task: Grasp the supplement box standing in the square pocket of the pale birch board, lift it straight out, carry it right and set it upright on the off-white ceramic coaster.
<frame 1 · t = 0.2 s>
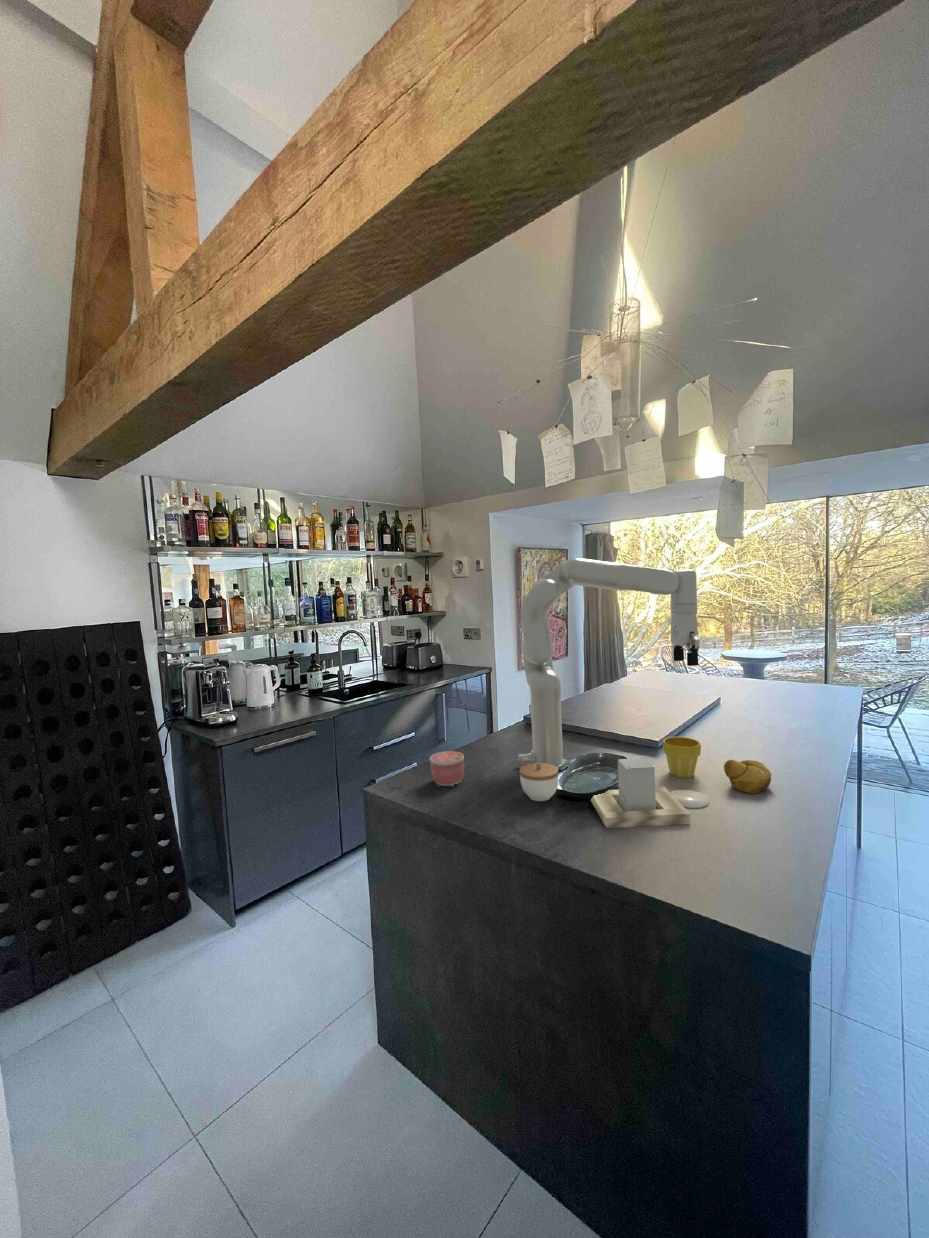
hand: (685, 663, 163), 31 cm above the countertop, fingers open, 9 cm apart
plant pot: (682, 774, 153), on the countertop
bread roll: (751, 787, 141), on the countertop
container: (448, 782, 157), on the countertop
supplement box: (637, 812, 131), resting in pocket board
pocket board: (637, 811, 131), on the countertop
lidded jar: (540, 797, 143), on the countertop
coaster: (688, 799, 136), on the countertop
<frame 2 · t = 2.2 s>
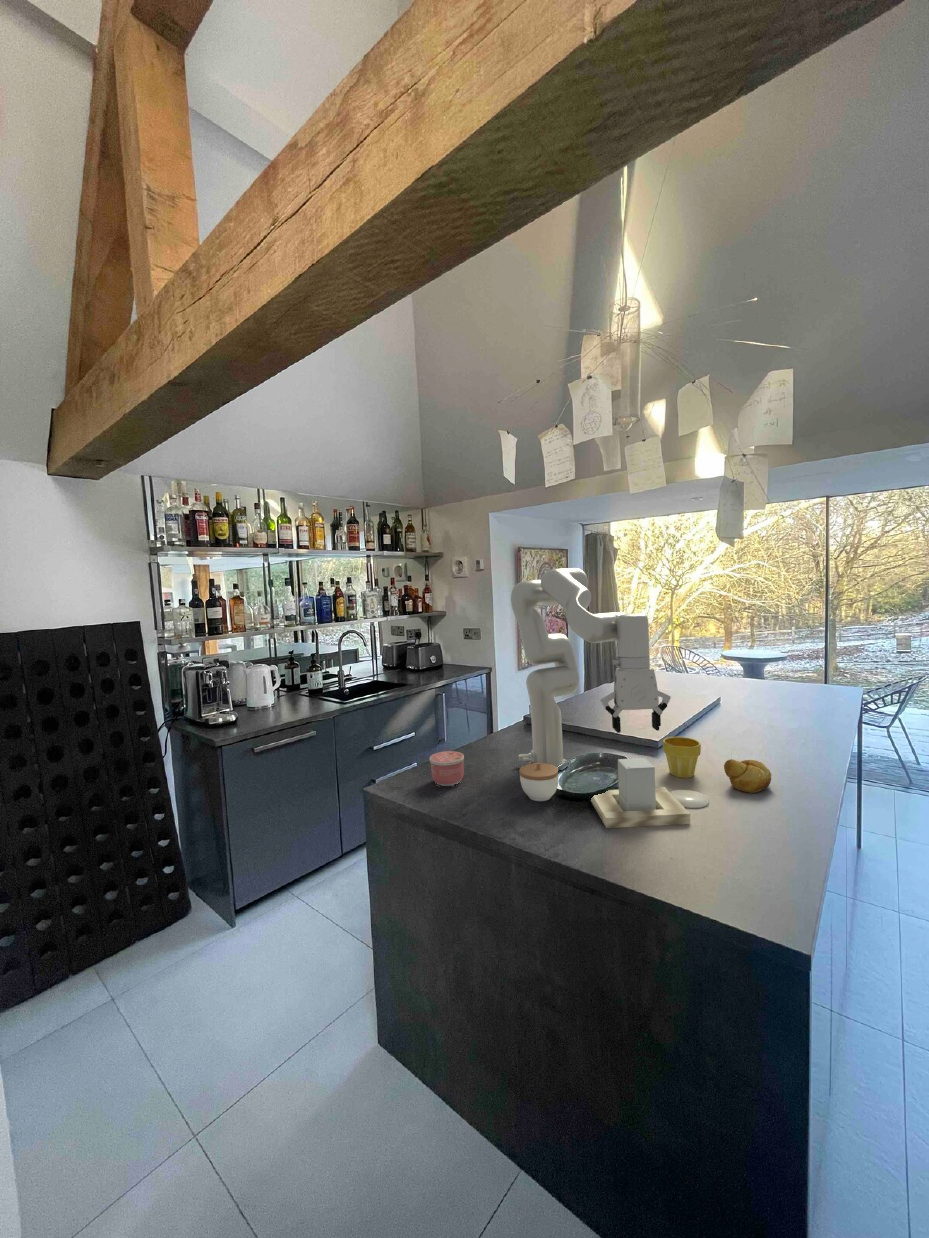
hand: (636, 730, 130), 21 cm above the countertop, fingers open, 9 cm apart
nothing on the countertop moved.
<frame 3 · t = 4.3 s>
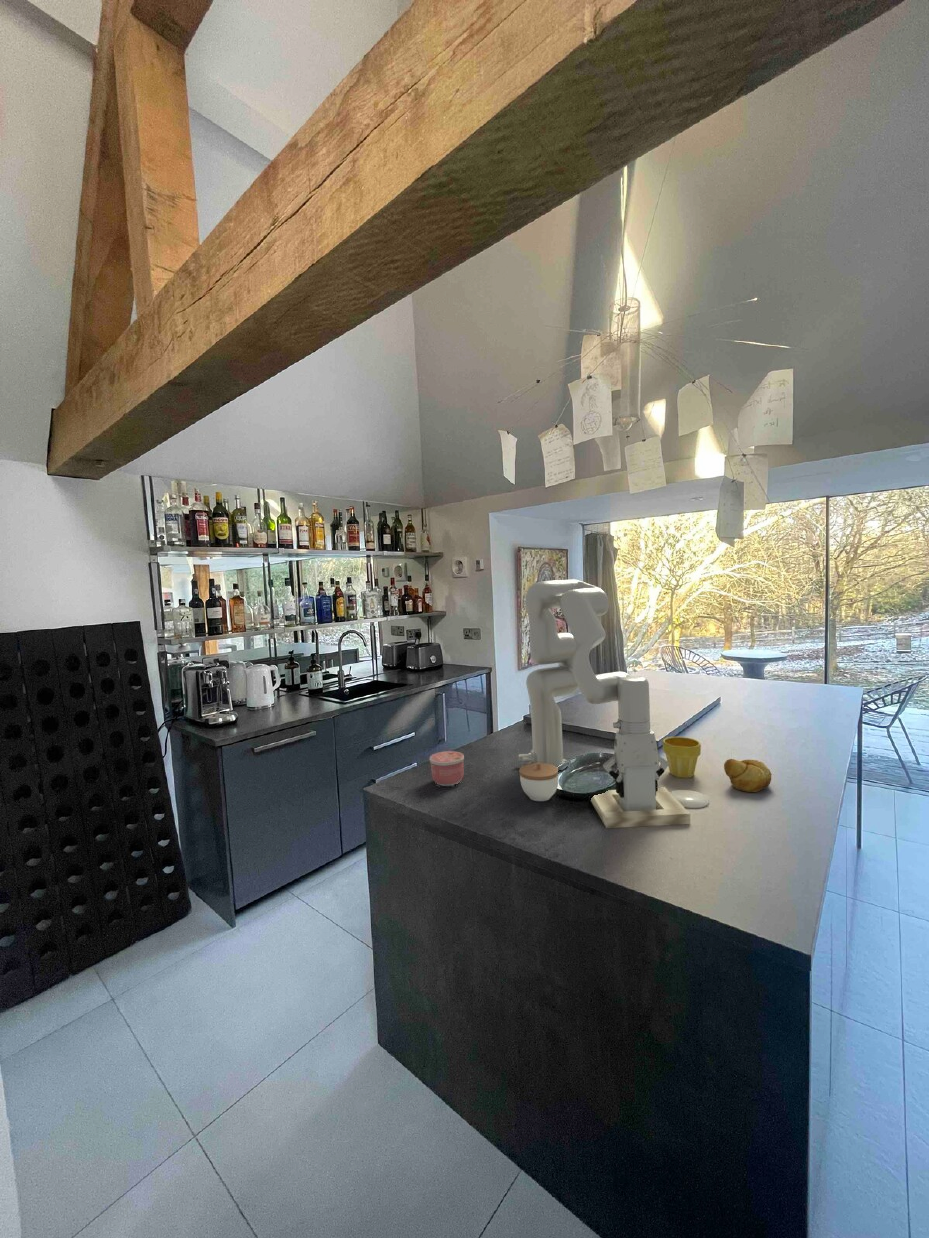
hand: (636, 794, 130), 4 cm above the countertop, fingers closed on supplement box, 7 cm apart
supplement box: (637, 811, 131), resting in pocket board, touching gripper
everything else where it was.
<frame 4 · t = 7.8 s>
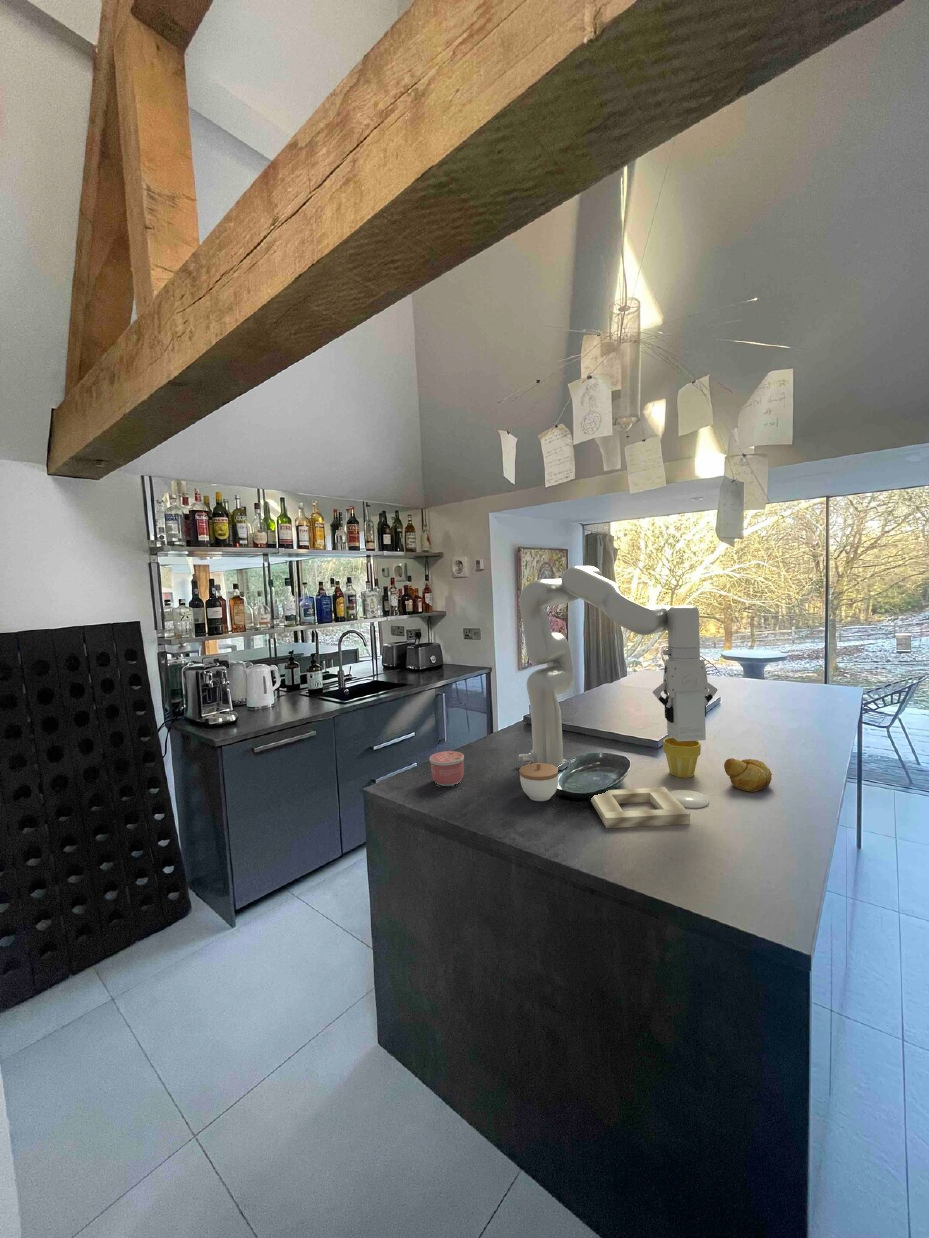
hand: (685, 720, 134), 21 cm above the countertop, fingers closed on supplement box, 7 cm apart
supplement box: (686, 737, 134), point 17 cm above the countertop, touching gripper
everything else where it was.
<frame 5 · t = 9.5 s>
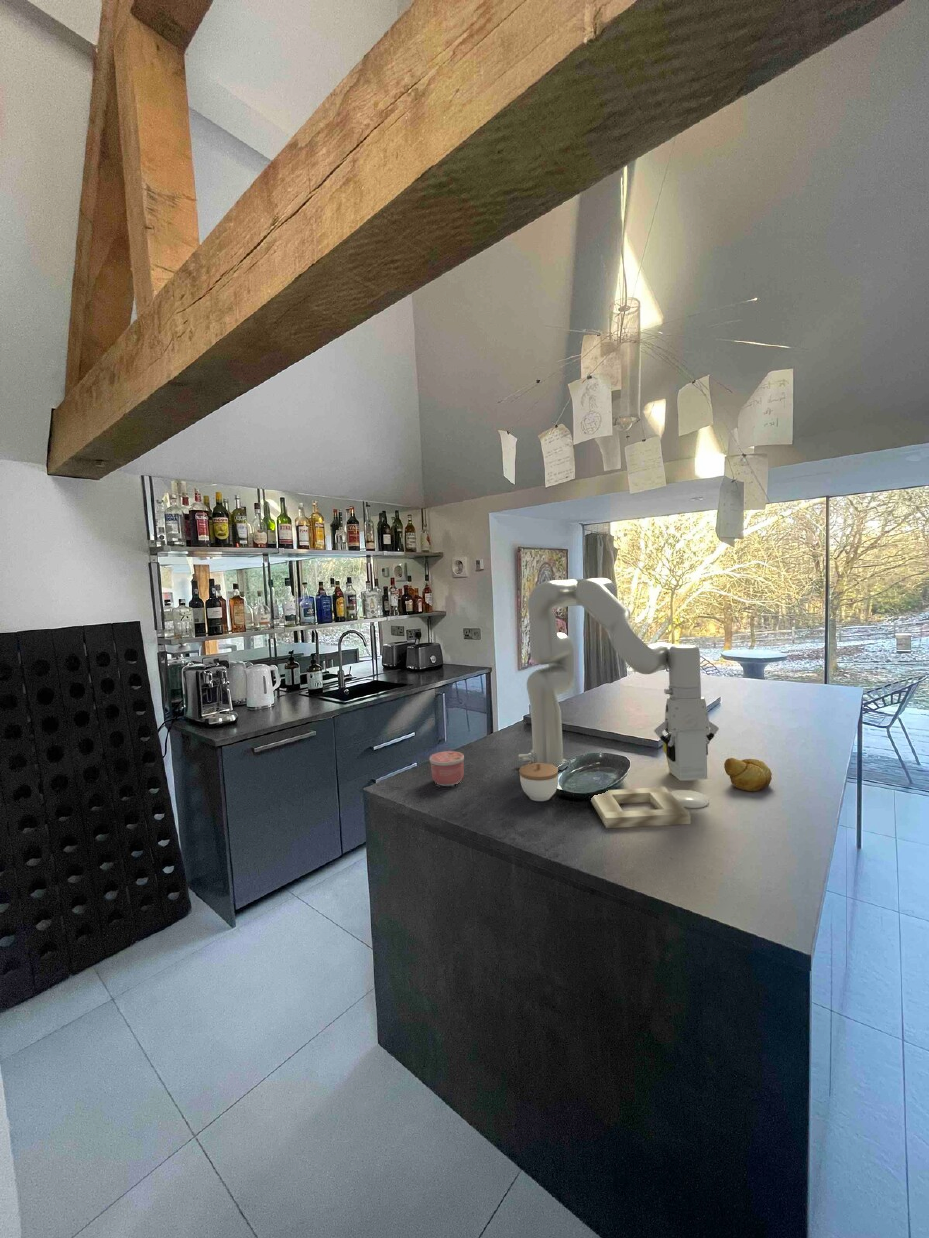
hand: (687, 758, 135), 11 cm above the countertop, fingers closed on supplement box, 7 cm apart
supplement box: (687, 775, 135), point 7 cm above the countertop, touching gripper
when the fingers open (6 cm above the countertop, at t = 11.2 s): supplement box stays where it is, resting on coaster.
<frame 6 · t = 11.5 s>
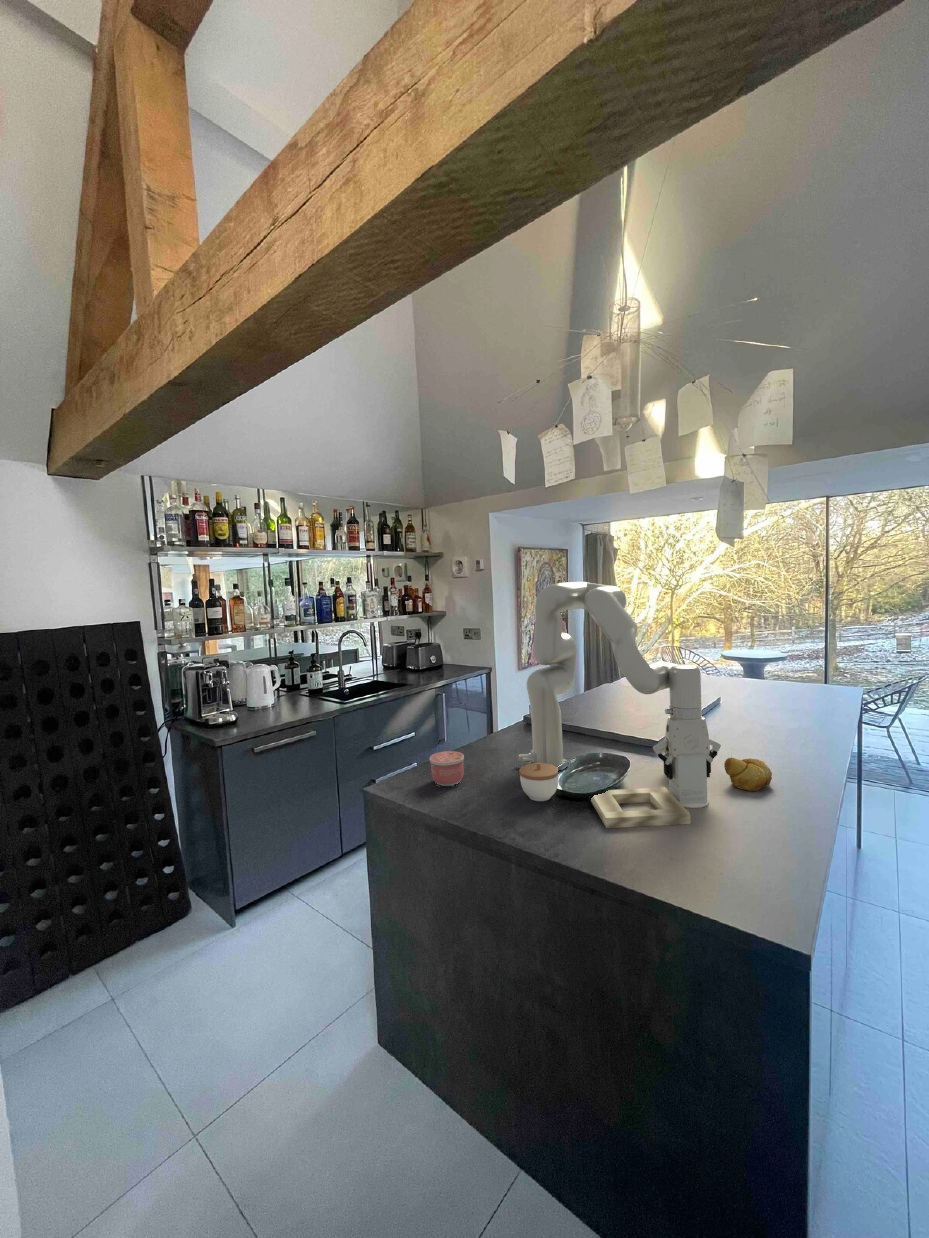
hand: (687, 776, 135), 6 cm above the countertop, fingers open, 9 cm apart
supplement box: (687, 798, 136), resting on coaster
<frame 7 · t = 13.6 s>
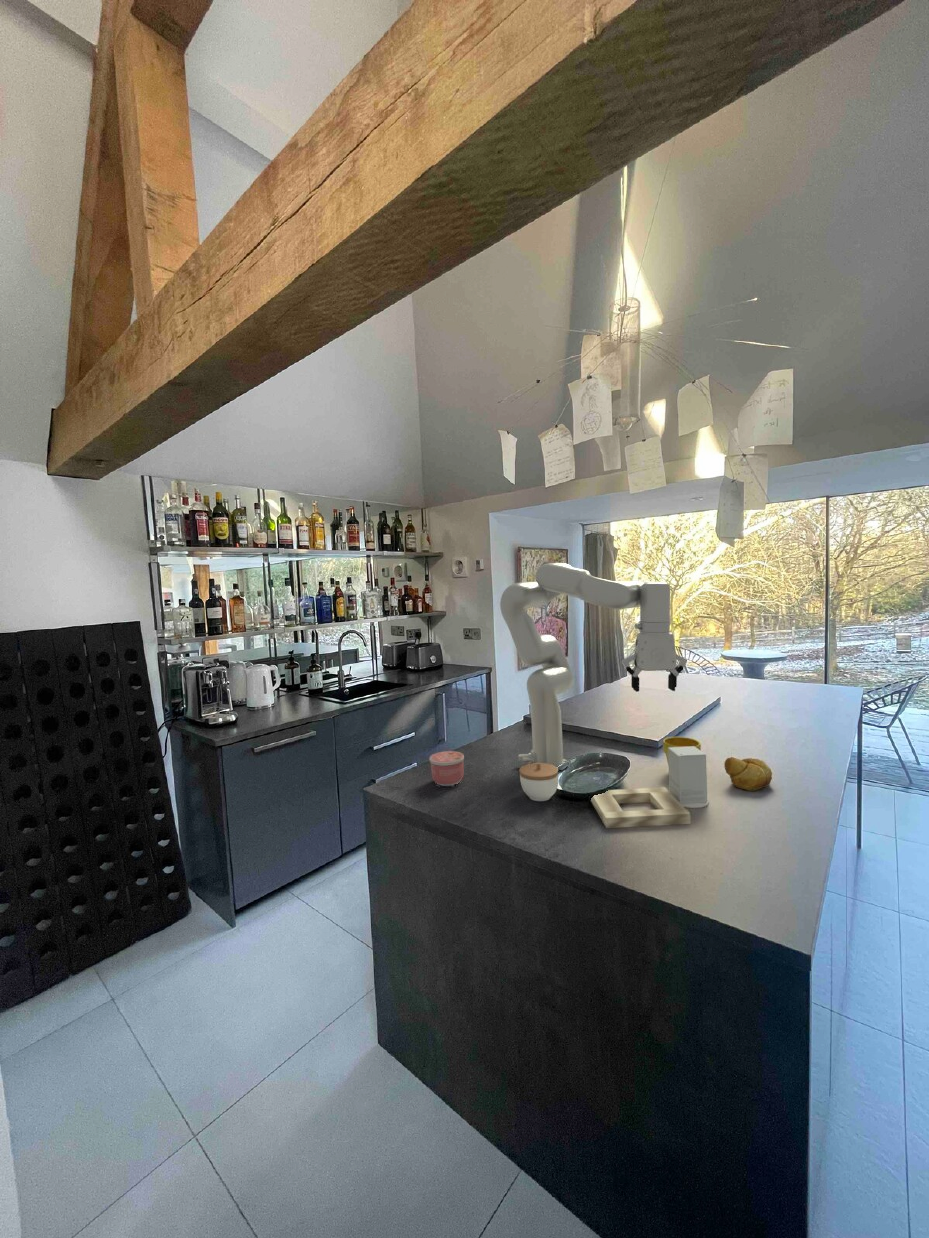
hand: (653, 690, 140), 28 cm above the countertop, fingers open, 9 cm apart
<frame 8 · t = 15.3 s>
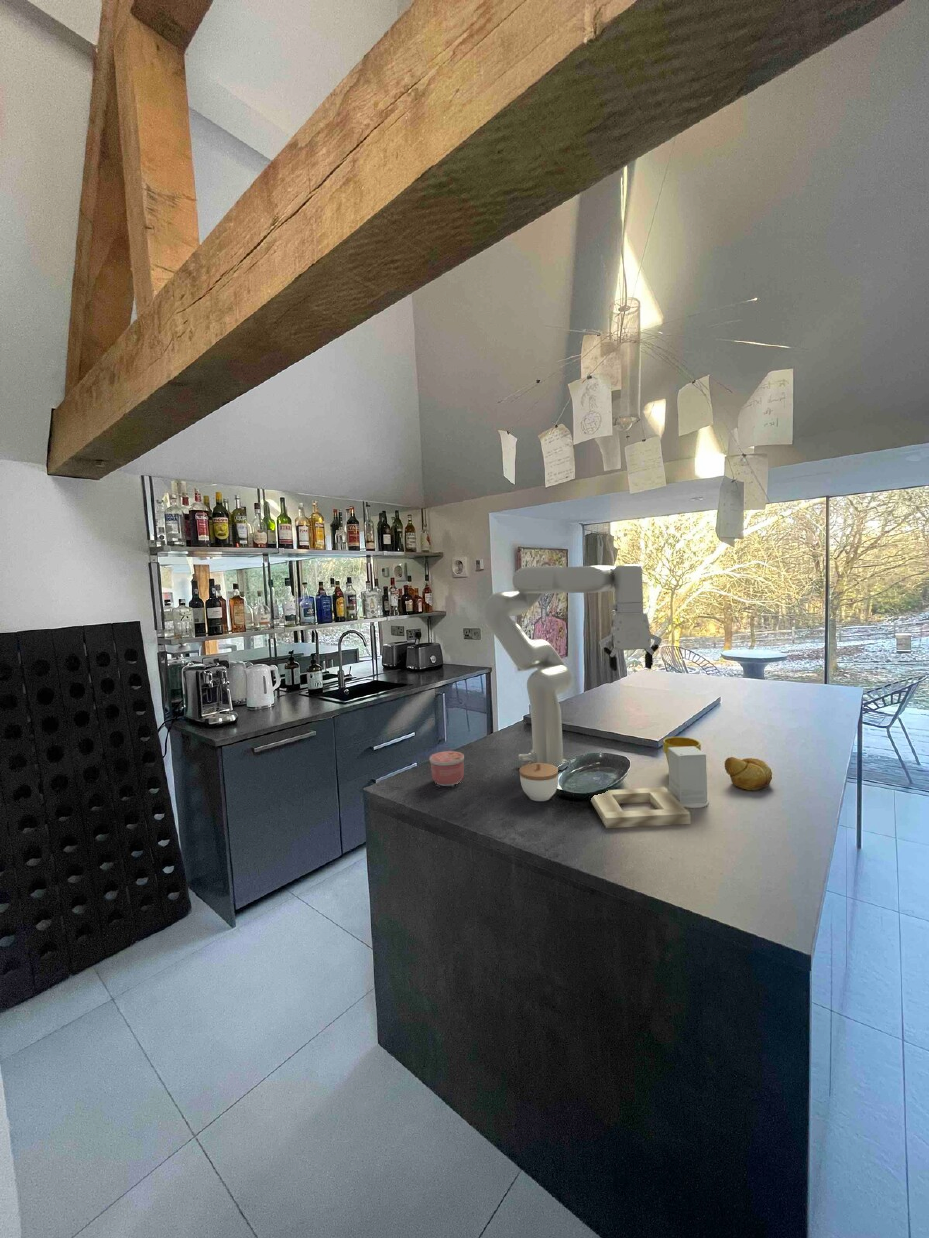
hand: (631, 669, 145), 33 cm above the countertop, fingers open, 9 cm apart
at the end: supplement box inside the target area on the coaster (0.1 cm from its centre), point 0.4 cm above the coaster's base; supplement box tilted 0°; the gripper is holding nothing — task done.
